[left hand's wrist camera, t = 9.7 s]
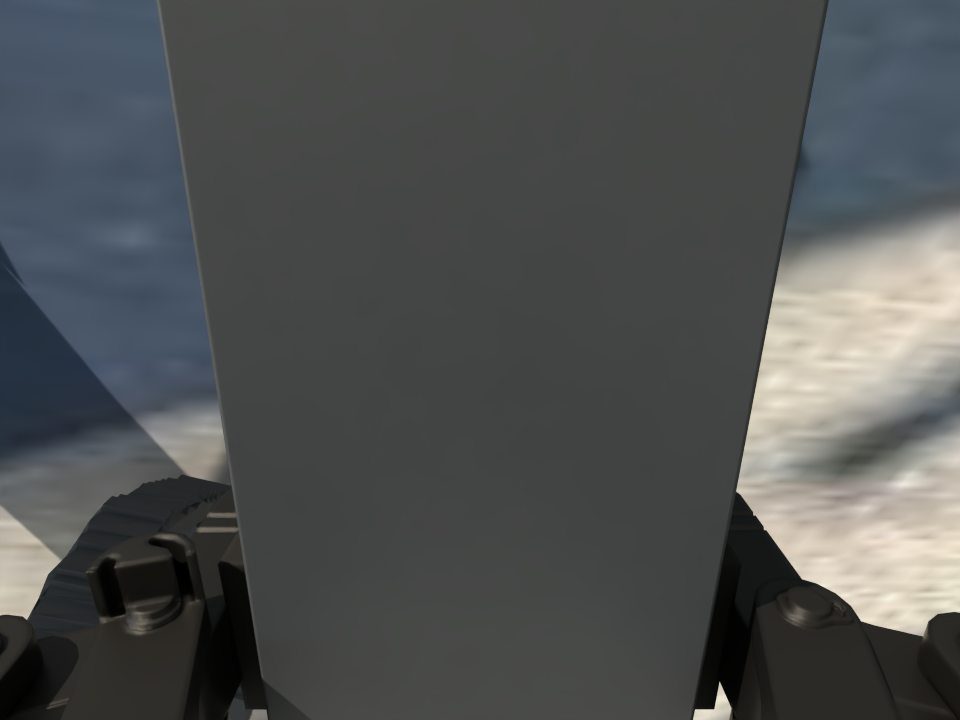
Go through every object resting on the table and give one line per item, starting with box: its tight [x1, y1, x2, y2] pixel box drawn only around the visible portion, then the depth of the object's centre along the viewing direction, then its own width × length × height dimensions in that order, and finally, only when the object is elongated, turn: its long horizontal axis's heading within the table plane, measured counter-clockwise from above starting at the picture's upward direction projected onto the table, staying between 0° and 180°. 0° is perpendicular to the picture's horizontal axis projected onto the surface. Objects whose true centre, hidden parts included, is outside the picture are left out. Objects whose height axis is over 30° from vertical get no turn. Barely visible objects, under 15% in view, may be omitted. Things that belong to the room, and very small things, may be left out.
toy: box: [27, 475, 253, 720], centre depth 30 cm, size 13×27×18 cm, turn 166°
